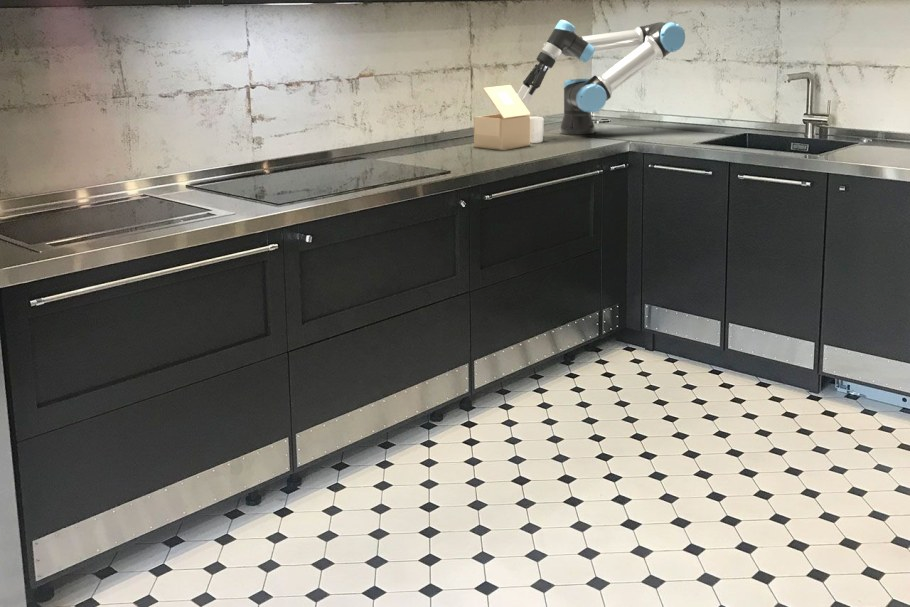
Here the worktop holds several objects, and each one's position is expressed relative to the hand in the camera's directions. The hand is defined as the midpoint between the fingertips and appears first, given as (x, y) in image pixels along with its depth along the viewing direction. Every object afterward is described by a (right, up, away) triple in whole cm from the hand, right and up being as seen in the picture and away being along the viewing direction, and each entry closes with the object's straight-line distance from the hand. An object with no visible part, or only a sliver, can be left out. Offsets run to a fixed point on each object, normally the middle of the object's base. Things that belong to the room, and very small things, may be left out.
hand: (521, 100), depth 427 cm
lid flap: (-7, -4, -18) cm, 20 cm away
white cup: (+5, -18, -1) cm, 19 cm away
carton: (-9, -21, -11) cm, 25 cm away
